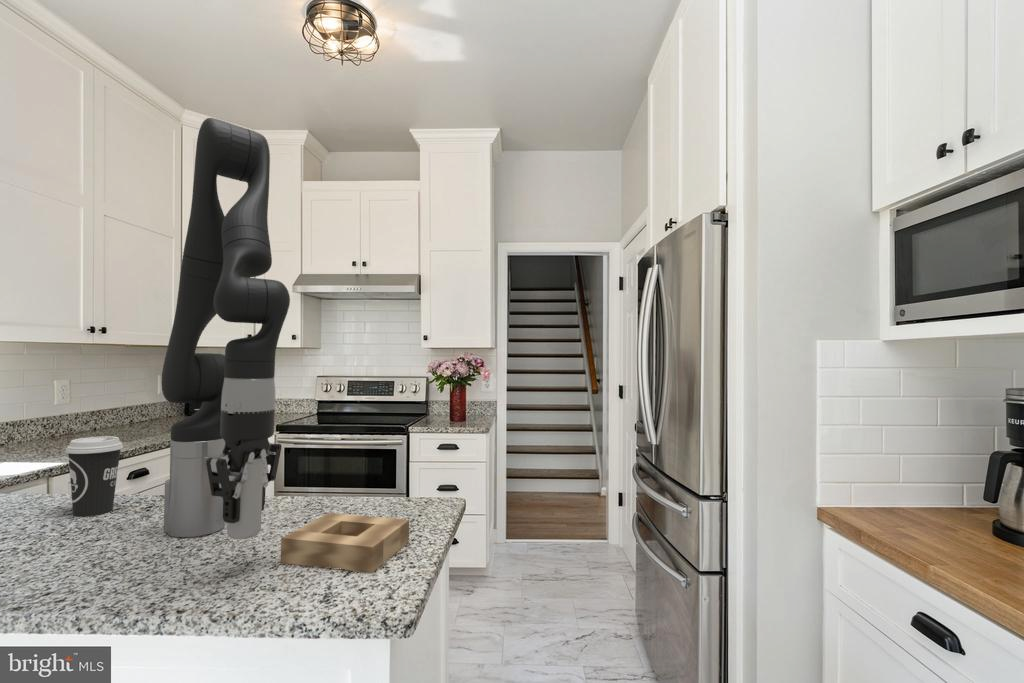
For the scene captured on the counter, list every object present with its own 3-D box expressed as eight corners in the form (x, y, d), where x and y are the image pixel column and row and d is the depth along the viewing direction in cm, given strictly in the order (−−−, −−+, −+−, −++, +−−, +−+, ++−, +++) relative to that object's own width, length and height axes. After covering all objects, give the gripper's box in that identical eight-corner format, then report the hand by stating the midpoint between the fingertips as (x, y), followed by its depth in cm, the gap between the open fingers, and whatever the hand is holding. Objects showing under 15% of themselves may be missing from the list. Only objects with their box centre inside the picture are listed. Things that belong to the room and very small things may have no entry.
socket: (280, 563, 87) (281, 537, 87) (328, 534, 100) (328, 512, 100) (372, 573, 83) (372, 547, 83) (408, 542, 97) (409, 519, 97)
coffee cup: (98, 519, 107) (100, 443, 107) (50, 518, 107) (52, 442, 108) (132, 505, 117) (134, 436, 117) (88, 504, 117) (90, 435, 117)
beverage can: (246, 542, 81) (249, 462, 81) (218, 538, 82) (221, 459, 82) (267, 531, 85) (270, 455, 85) (241, 528, 86) (244, 453, 86)
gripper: (259, 400, 91) (255, 501, 91) (190, 410, 78) (186, 529, 77) (298, 403, 90) (294, 506, 90) (235, 414, 76) (230, 535, 76)
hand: (244, 516), depth 84 cm, fingers closed on beverage can, 5 cm apart
